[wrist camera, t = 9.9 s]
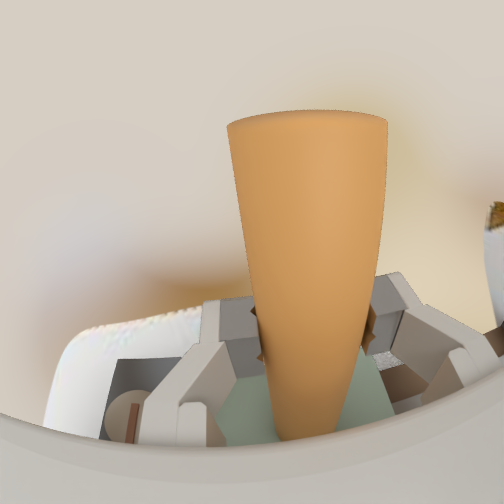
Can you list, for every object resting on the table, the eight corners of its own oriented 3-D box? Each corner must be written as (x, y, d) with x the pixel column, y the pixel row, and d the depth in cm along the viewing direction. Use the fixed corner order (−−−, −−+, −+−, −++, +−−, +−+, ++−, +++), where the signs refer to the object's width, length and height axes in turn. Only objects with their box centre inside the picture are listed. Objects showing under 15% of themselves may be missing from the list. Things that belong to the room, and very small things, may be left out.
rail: (515, 328, 18) (546, 267, 14) (551, 387, 11) (595, 329, 7) (159, 411, 19) (114, 354, 14) (151, 507, 12) (85, 483, 8)
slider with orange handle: (363, 364, 16) (400, 102, 8) (399, 476, 10) (605, 195, 2) (221, 386, 17) (139, 127, 8) (224, 508, 10) (-53, 281, 2)
